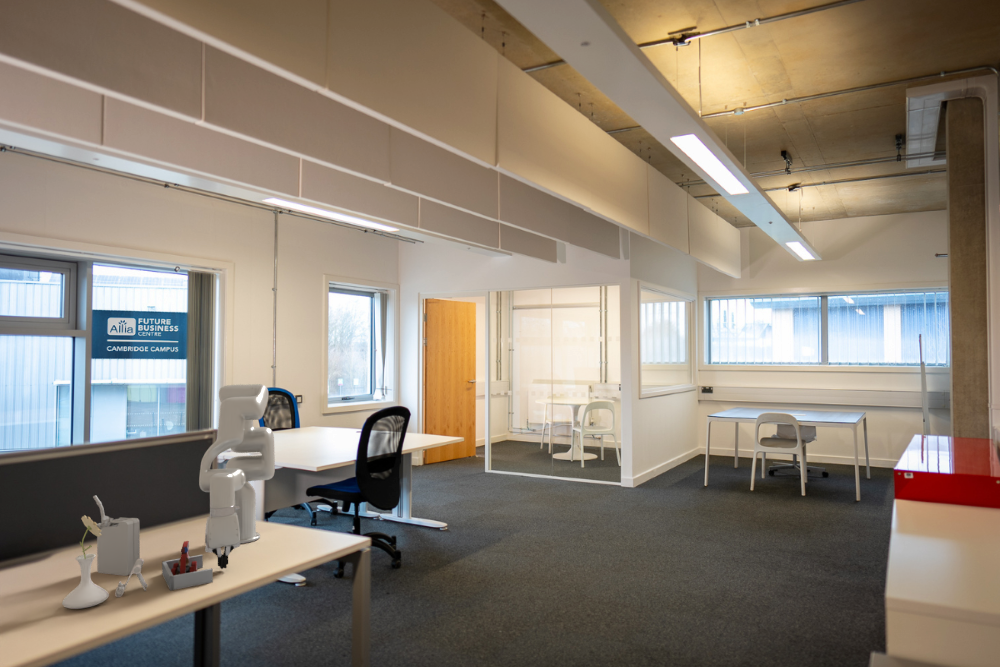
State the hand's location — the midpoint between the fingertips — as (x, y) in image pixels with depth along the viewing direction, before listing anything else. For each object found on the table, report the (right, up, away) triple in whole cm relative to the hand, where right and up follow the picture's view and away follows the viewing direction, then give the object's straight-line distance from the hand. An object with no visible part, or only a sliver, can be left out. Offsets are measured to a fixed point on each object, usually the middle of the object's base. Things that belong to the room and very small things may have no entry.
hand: (223, 567), depth 217 cm
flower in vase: (-28, -1, -26) cm, 39 cm away
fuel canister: (-36, -2, +1) cm, 36 cm away
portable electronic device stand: (-21, -2, -16) cm, 26 cm away
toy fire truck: (-10, -2, -6) cm, 12 cm away
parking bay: (-9, -1, -6) cm, 10 cm away
